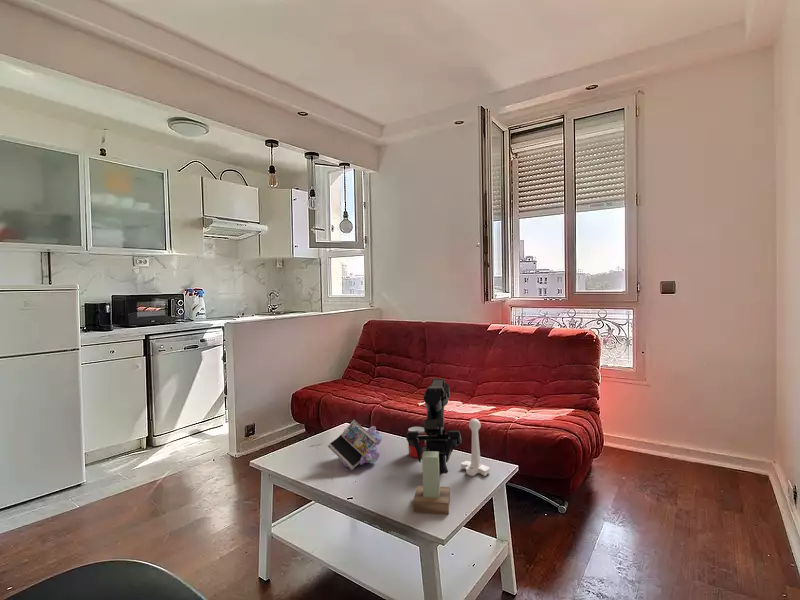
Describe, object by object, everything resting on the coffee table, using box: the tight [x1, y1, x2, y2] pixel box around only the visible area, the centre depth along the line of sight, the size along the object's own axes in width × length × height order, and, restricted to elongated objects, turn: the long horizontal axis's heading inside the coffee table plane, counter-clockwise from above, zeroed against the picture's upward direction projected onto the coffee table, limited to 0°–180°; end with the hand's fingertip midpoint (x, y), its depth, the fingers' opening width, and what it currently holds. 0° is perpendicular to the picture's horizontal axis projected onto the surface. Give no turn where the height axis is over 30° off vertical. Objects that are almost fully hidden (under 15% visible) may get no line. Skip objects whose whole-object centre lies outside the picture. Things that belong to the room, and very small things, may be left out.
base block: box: [412, 485, 451, 515], centre depth 138 cm, size 11×11×4 cm
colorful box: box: [326, 419, 382, 471], centre depth 176 cm, size 20×22×18 cm
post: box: [421, 451, 441, 498], centre depth 138 cm, size 5×5×13 cm
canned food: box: [407, 426, 427, 459], centre depth 181 cm, size 8×8×11 cm
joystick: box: [460, 418, 491, 477], centre depth 162 cm, size 11×8×20 cm
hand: (433, 462), depth 144 cm, fingers open, 9 cm apart
